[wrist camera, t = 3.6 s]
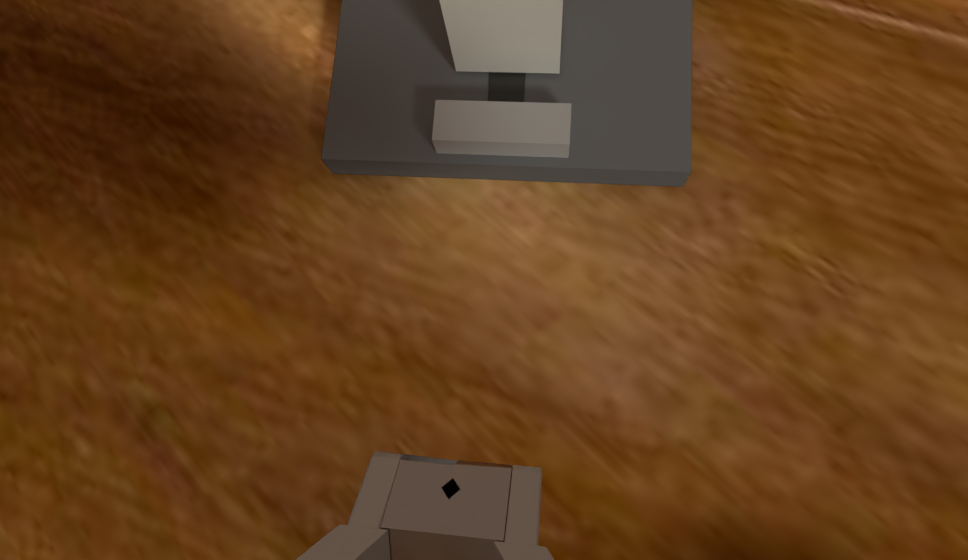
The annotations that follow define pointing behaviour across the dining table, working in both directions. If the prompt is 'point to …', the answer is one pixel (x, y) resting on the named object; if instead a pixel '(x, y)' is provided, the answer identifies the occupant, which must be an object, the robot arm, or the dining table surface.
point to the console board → (514, 98)
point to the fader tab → (504, 35)
